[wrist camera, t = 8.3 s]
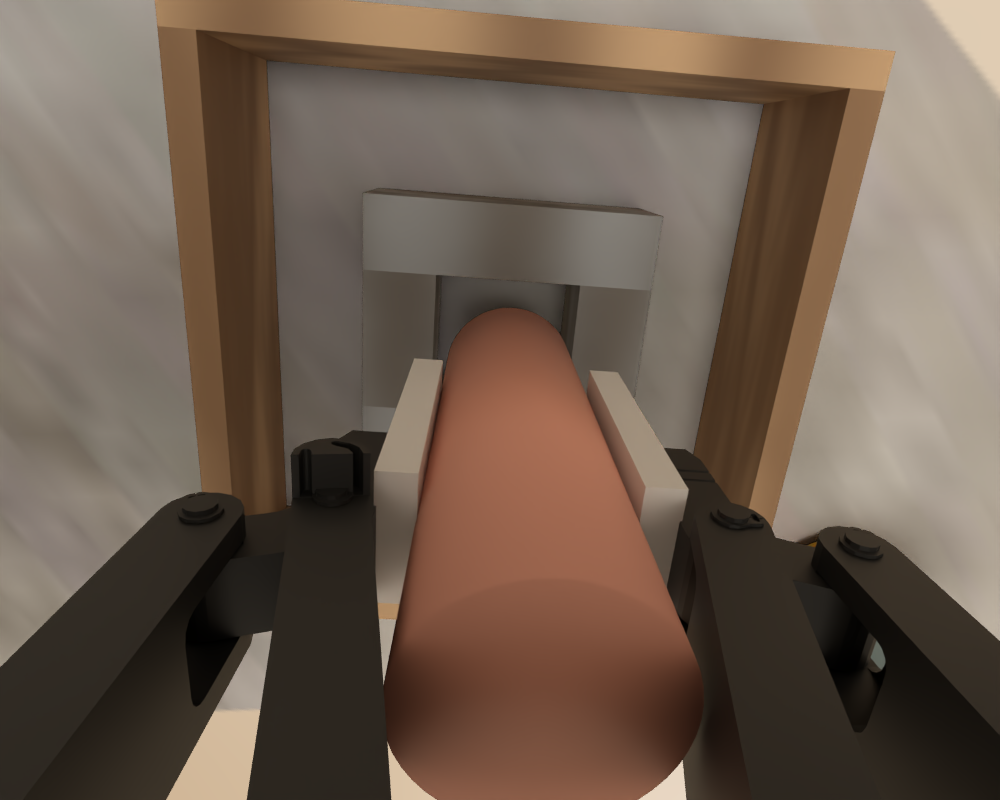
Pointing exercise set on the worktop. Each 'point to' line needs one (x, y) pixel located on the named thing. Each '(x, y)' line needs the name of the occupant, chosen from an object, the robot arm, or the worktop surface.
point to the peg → (532, 595)
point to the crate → (507, 219)
